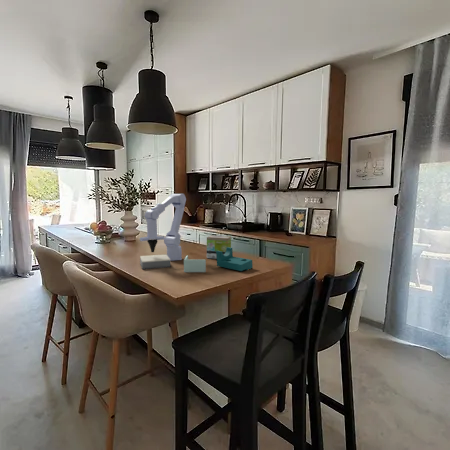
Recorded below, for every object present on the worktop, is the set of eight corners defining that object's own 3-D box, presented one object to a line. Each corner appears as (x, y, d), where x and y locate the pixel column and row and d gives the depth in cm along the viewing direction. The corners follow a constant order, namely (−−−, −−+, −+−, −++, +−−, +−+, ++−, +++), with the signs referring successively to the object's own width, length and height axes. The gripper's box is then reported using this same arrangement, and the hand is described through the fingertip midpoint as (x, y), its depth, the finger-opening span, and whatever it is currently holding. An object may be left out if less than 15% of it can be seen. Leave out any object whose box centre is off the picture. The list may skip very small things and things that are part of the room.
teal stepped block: (217, 268, 167) (216, 251, 166) (228, 263, 176) (227, 247, 174) (241, 273, 156) (240, 255, 154) (252, 268, 164) (251, 250, 162)
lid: (166, 255, 180) (166, 254, 180) (170, 260, 167) (170, 259, 167) (140, 257, 174) (140, 256, 174) (142, 262, 161) (142, 261, 161)
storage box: (166, 262, 180) (166, 255, 180) (170, 267, 167) (170, 260, 167) (140, 264, 174) (140, 257, 174) (142, 269, 161) (142, 262, 161)
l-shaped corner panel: (205, 273, 156) (205, 259, 156) (183, 273, 156) (183, 259, 155) (206, 267, 168) (206, 255, 168) (186, 267, 168) (186, 255, 167)
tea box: (206, 258, 191) (206, 236, 189) (210, 255, 201) (210, 235, 199) (227, 259, 187) (228, 237, 186) (231, 256, 197) (231, 235, 196)
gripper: (162, 228, 177) (162, 249, 179) (138, 229, 171) (139, 251, 172) (165, 229, 171) (165, 251, 173) (140, 231, 164) (141, 254, 166)
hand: (152, 252), depth 172 cm, fingers closed
